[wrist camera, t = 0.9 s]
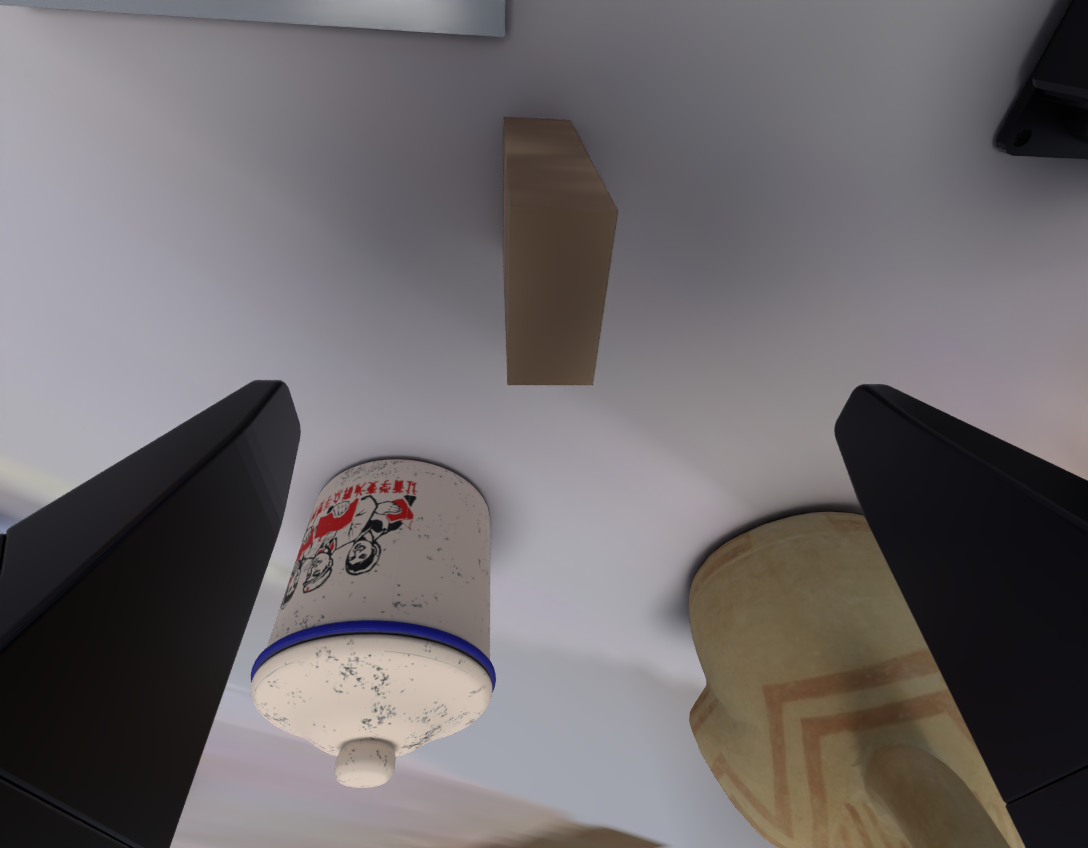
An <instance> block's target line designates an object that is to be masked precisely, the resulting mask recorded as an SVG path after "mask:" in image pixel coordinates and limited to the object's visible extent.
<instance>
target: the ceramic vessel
mask: <svg viewBox="0 0 1088 848" xmlns="http://www.w3.org/2000/svg"><path fill="white" fill-rule="evenodd" d="M688 605H689V620H690V627H691V632H692V637H693V641H694V645H695V649H696V652H697V655H698V658H699V661H700V664H701V667H702V669H703V672H704V675H705V677H706V687H705V688H704V690H703V691H702V693H701V695H700V696H699V698H698V699H697V701H696V702H695V704H694V706H693V708H692V709H691V711H690V719H689V721H690V725H691V729H692V732H693V734H694V737H695V739H696V742H697V744H698V747H699V749H700V752H701V754H702V756H703V757H704V759H705V761H706V763H707V764H708V766H709V768H710V769H711V771H712V773H713V774H714V776H715V778H716V779H717V781H718V782H719V784H720V786H721V787H722V789H723V790H724V792H725V793H726V795H727V796H728V798H729V799H730V800H731V802H732V803H733V804H734V806H735V807H736V808H737V810H738V811H739V812H740V813H741V814H742V815H743V816H744V818H745V819H746V820H747V821H748V822H749V823H750V824H751V826H752V827H753V828H754V829H755V830H756V831H757V832H758V833H759V834H760V835H761V836H762V837H763V838H764V839H766V840H767V841H769V842H770V843H772V844H773V845H775V846H776V847H778V848H1025V846H1024V844H1023V842H1022V840H1021V838H1020V836H1019V834H1018V832H1017V830H1016V828H1015V826H1014V824H1013V822H1012V820H1011V817H1010V815H1009V813H1008V811H1007V809H1006V807H1005V805H1006V804H1007V803H1005V802H1004V801H1003V800H1002V798H1001V796H1000V794H999V792H998V790H997V788H996V786H995V784H994V782H993V780H992V777H991V775H990V773H989V771H988V769H987V767H986V765H985V763H984V761H983V759H982V757H981V755H980V753H979V751H978V749H977V747H976V745H975V743H974V741H973V739H972V737H971V734H970V732H969V730H968V728H967V726H966V724H965V722H964V720H963V718H962V716H961V714H960V712H959V710H958V708H957V706H956V704H955V702H954V700H953V698H952V696H951V694H950V691H949V689H948V687H947V685H946V683H945V681H944V679H943V677H942V675H941V673H940V671H939V669H938V667H937V665H936V663H935V661H934V659H933V657H932V655H931V653H930V651H929V648H928V646H927V644H926V642H925V640H924V638H923V636H922V634H921V632H920V630H919V628H918V626H917V624H916V622H915V620H914V618H913V616H912V614H911V612H910V610H909V608H908V605H907V603H906V601H905V599H904V597H903V595H902V593H901V591H900V589H899V587H898V585H897V583H896V581H895V579H894V577H893V575H892V573H891V571H890V569H889V567H888V565H887V562H886V560H885V558H884V556H883V554H882V552H881V550H880V548H879V546H878V544H877V542H876V540H875V538H874V536H873V534H872V532H871V530H870V528H869V526H868V523H867V521H866V519H865V517H864V516H862V515H858V514H853V513H841V512H817V513H807V514H802V515H796V516H790V517H787V518H783V519H780V520H777V521H773V522H770V523H767V524H764V525H761V526H759V527H757V528H754V529H752V530H750V531H748V532H746V533H744V534H741V535H740V536H738V537H736V538H734V539H732V540H730V541H728V542H726V543H725V544H723V545H722V546H721V547H720V548H718V549H717V550H716V551H715V552H714V553H712V554H711V555H710V556H709V557H708V558H707V559H706V561H705V562H704V563H703V565H702V566H701V567H700V569H699V570H698V571H697V573H696V575H695V577H694V579H693V581H692V585H691V589H690V593H689V603H688Z"/></svg>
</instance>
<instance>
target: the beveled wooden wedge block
mask: <svg viewBox="0 0 1088 848" xmlns="http://www.w3.org/2000/svg"><path fill="white" fill-rule="evenodd" d="M617 214H618V210H617V208H616V206H615V204H614V202H613V200H612V198H611V197H610V195H609V193H608V191H607V189H606V187H605V185H604V183H603V181H602V179H601V178H600V176H599V174H598V172H597V170H596V168H595V166H594V164H593V162H592V161H591V159H590V157H589V155H588V153H587V151H586V149H585V147H584V145H583V144H582V142H581V140H580V138H579V136H578V134H577V132H576V130H575V128H574V127H573V125H572V123H571V121H569V120H549V119H529V118H509V117H504V155H503V267H504V296H505V326H506V355H507V385H593V381H594V374H595V367H596V360H597V353H598V346H599V339H600V332H601V325H602V318H603V311H604V305H605V298H606V291H607V284H608V277H609V270H610V263H611V256H612V249H613V242H614V235H615V228H616V221H617Z"/></svg>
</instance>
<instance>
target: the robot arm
mask: <svg viewBox="0 0 1088 848" xmlns="http://www.w3.org/2000/svg"><path fill="white" fill-rule="evenodd" d="M1021 131H1022V133H1021V136H1020V137H1019V138H1018V139H1017V140H1016V141H1015V142H1014V139H1015V137H1016V136H1017V135H1018V133H1020V132H1021ZM996 147H997V149H998V150H999V151H1001V152H1004V153H1007V154H1010V155H1013V156H1035V157H1056V158H1077V159H1088V0H1072V2H1071V4H1070V6H1069V8H1068V9H1067V11H1066V13H1065V15H1064V17H1063V19H1062V20H1061V22H1060V24H1059V26H1058V28H1057V29H1056V31H1055V33H1054V35H1053V37H1052V39H1051V40H1050V42H1049V44H1048V46H1047V48H1046V49H1045V51H1044V53H1043V55H1042V57H1041V59H1040V60H1039V62H1038V64H1037V66H1036V68H1035V69H1034V71H1033V73H1032V75H1031V77H1030V79H1029V80H1028V82H1027V84H1026V86H1025V88H1024V90H1023V91H1022V93H1021V95H1020V97H1019V99H1018V100H1017V102H1016V104H1015V106H1014V108H1013V110H1012V111H1011V113H1010V115H1009V117H1008V119H1007V120H1006V122H1005V124H1004V126H1003V128H1002V130H1001V131H1000V133H999V135H998V138H997V140H996ZM834 432H835V438H836V441H837V444H838V446H839V449H840V452H841V455H842V457H843V460H844V463H845V466H846V469H847V471H848V474H849V477H850V480H851V482H852V485H853V488H854V491H855V494H856V496H857V499H858V502H859V504H860V507H861V510H862V512H863V515H864V517H865V519H866V521H867V523H868V526H869V528H870V530H871V532H872V534H873V536H874V538H875V540H876V542H877V544H878V546H879V548H880V550H881V552H882V554H883V556H884V558H885V560H886V562H887V565H888V567H889V569H890V571H891V573H892V575H893V577H894V579H895V581H896V583H897V585H898V587H899V589H900V591H901V593H902V595H903V597H904V599H905V601H906V603H907V605H908V608H909V610H910V612H911V614H912V616H913V618H914V620H915V622H916V624H917V626H918V628H919V630H920V632H921V634H922V636H923V638H924V640H925V642H926V644H927V646H928V648H929V651H930V653H931V655H932V657H933V659H934V661H935V663H936V665H937V667H938V669H939V671H940V673H941V675H942V677H943V679H944V681H945V683H946V685H947V687H948V689H949V691H950V694H951V696H952V698H953V700H954V702H955V704H956V706H957V708H958V710H959V712H960V714H961V716H962V718H963V720H964V722H965V724H966V726H967V728H968V730H969V732H970V734H971V737H972V739H973V741H974V743H975V745H976V747H977V749H978V751H979V753H980V755H981V757H982V759H983V761H984V763H985V765H986V767H987V769H988V771H989V773H990V775H991V777H992V780H993V782H994V784H995V786H996V788H997V790H998V792H999V794H1000V796H1001V798H1002V800H1003V801H1004V802H1005V803H1007V804H1006V805H1005V807H1006V809H1007V811H1008V813H1009V815H1010V817H1011V820H1012V822H1013V824H1014V826H1015V828H1016V830H1017V832H1018V834H1019V836H1020V838H1021V840H1022V842H1023V844H1024V846H1025V848H1088V481H1087V480H1085V479H1083V478H1081V477H1079V476H1077V475H1075V474H1073V473H1070V472H1068V471H1066V470H1064V469H1062V468H1060V467H1058V466H1056V465H1054V464H1052V463H1050V462H1047V461H1045V460H1043V459H1041V458H1039V457H1037V456H1035V455H1033V454H1031V453H1029V452H1026V451H1024V450H1022V449H1020V448H1018V447H1016V446H1014V445H1012V444H1010V443H1008V442H1006V441H1003V440H1001V439H999V438H997V437H995V436H993V435H991V434H989V433H987V432H985V431H982V430H980V429H978V428H976V427H974V426H972V425H970V424H968V423H966V422H964V421H962V420H959V419H957V418H955V417H953V416H951V415H949V414H947V413H945V412H943V411H941V410H938V409H936V408H934V407H932V406H930V405H928V404H926V403H924V402H922V401H920V400H918V399H915V398H913V397H911V396H909V395H907V394H905V393H903V392H901V391H899V390H897V389H894V388H892V387H890V386H888V385H883V384H862V385H859V386H858V387H856V388H855V389H854V390H853V392H852V393H851V395H850V397H849V399H848V401H847V402H846V404H845V406H844V408H843V410H842V412H841V413H840V415H839V417H838V419H837V421H836V424H835V430H834ZM300 433H301V430H300V423H299V419H298V416H297V413H296V410H295V407H294V403H293V400H292V397H291V394H290V391H289V388H288V386H287V385H286V383H284V382H283V381H281V380H255V381H252V382H250V383H249V384H247V385H245V386H244V387H242V388H240V389H239V390H237V391H235V392H234V393H232V394H230V395H229V396H227V397H226V398H224V399H222V400H221V401H219V402H217V403H216V404H214V405H212V406H211V407H209V408H207V409H206V410H204V411H202V412H201V413H199V414H197V415H196V416H194V417H192V418H191V419H189V420H187V421H186V422H184V423H182V424H181V425H179V426H177V427H176V428H174V429H172V430H171V431H169V432H168V433H166V434H164V435H163V436H161V437H159V438H158V439H156V440H154V441H153V442H151V443H149V444H148V445H146V446H144V447H143V448H141V449H139V450H138V451H136V452H134V453H133V454H131V455H129V456H128V457H126V458H124V459H123V460H121V461H119V462H118V463H116V464H114V465H113V466H111V467H109V468H108V469H106V470H104V471H103V472H101V473H100V474H98V475H96V476H95V477H93V478H91V479H90V480H88V481H86V482H85V483H83V484H81V485H80V486H78V487H76V488H75V489H73V490H71V491H70V492H68V493H66V494H65V495H63V496H61V497H60V498H58V499H56V500H55V501H53V502H51V503H50V504H48V505H46V506H45V507H43V508H41V509H40V510H38V511H36V512H35V513H33V514H31V515H30V516H28V517H27V518H25V519H23V520H22V521H20V522H18V523H17V524H15V525H13V526H12V527H10V528H9V529H8V530H7V532H6V534H0V848H170V845H171V842H172V839H173V837H174V834H175V831H176V828H177V825H178V822H179V819H180V816H181V814H182V811H183V808H184V805H185V802H186V799H187V796H188V793H189V790H190V788H191V785H192V782H193V779H194V776H195V773H196V770H197V767H198V765H199V762H200V759H201V756H202V753H203V750H204V747H205V744H206V742H207V739H208V736H209V733H210V730H211V727H212V724H213V721H214V718H215V716H216V713H217V710H218V707H219V704H220V701H221V698H222V695H223V693H224V690H225V687H226V684H227V681H228V678H229V675H230V672H231V670H232V667H233V664H234V661H235V658H236V655H237V652H238V649H239V646H240V644H241V641H242V638H243V635H244V632H245V629H246V626H247V623H248V621H249V617H250V615H251V612H252V609H253V606H254V603H255V600H256V597H257V595H258V592H259V589H260V586H261V583H262V580H263V577H264V574H265V572H266V569H267V566H268V563H269V560H270V557H271V554H272V551H273V549H274V546H275V543H276V540H277V537H278V534H279V531H280V527H281V524H282V520H283V516H284V512H285V508H286V503H287V498H288V493H289V489H290V484H291V479H292V474H293V470H294V465H295V460H296V455H297V450H298V446H299V441H300Z"/></svg>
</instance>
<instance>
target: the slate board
mask: <svg viewBox="0 0 1088 848" xmlns="http://www.w3.org/2000/svg"><path fill="white" fill-rule="evenodd" d="M0 5H9V6H24V7H40V8H56V9H71V10H87V11H102V12H118V13H134V14H149V15H165V16H181V17H196V18H212V19H228V20H243V21H259V22H275V23H290V24H306V25H322V26H337V27H353V28H368V29H384V30H400V31H415V32H431V33H447V34H462V35H478V36H494V37H505V0H0Z"/></svg>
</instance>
